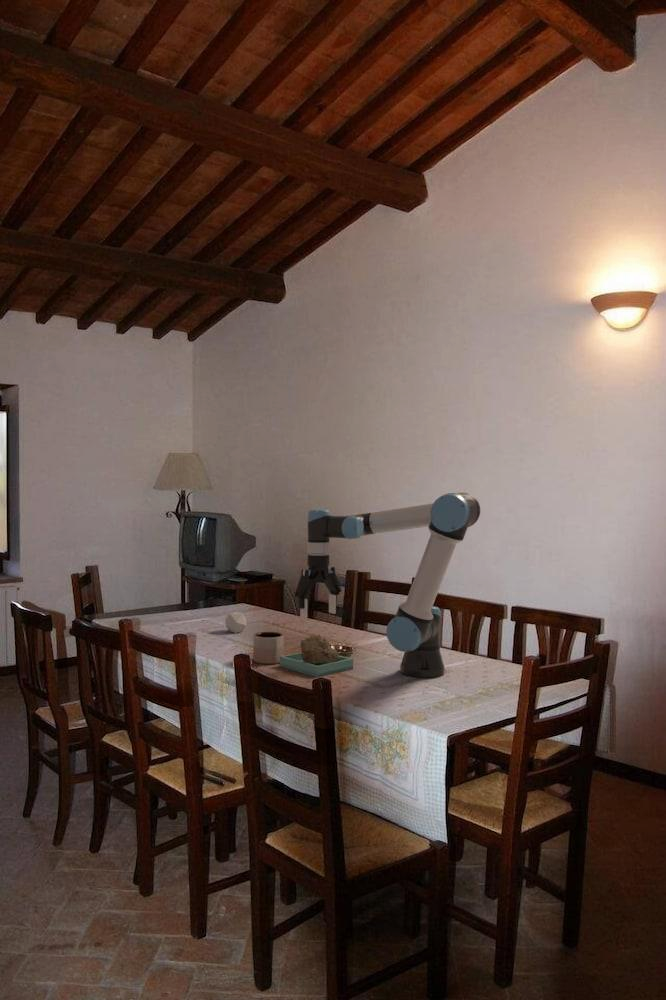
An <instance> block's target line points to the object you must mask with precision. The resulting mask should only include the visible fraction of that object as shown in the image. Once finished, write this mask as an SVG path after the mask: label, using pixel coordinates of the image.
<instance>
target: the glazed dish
mask: <svg viewBox="0 0 666 1000" xmlns="http://www.w3.org/2000/svg"><path fill="white" fill-rule="evenodd" d="M301 653H302V651H301V652H297V653H291V654H286V655H285V654H284V656H280V663H279V667H281V668H284V669H288V670H291V671H294V672H298V673H300V674H304V675H308V676H312V677H315V678H320V677H325V676H329V675H333V674H337V673H342V672H346V670H347V671H350V669H351V670H354V658H350V657H346V656H343V655H340V654H339V655H338V656H339V661H337V662H333V663H328V664H324V665H318V666H317V665H313V664H309V663H306V662H303V659H302V656H301Z"/></svg>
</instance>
